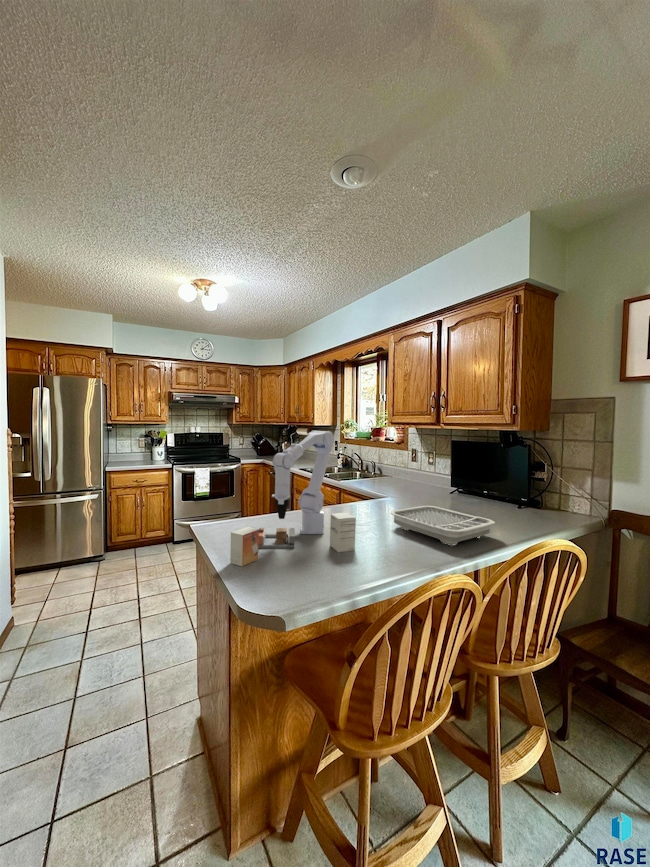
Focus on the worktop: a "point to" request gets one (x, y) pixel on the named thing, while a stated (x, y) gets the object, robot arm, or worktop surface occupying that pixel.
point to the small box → (244, 546)
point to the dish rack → (442, 523)
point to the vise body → (290, 545)
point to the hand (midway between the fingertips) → (281, 518)
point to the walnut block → (281, 535)
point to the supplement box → (342, 532)
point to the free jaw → (261, 536)
